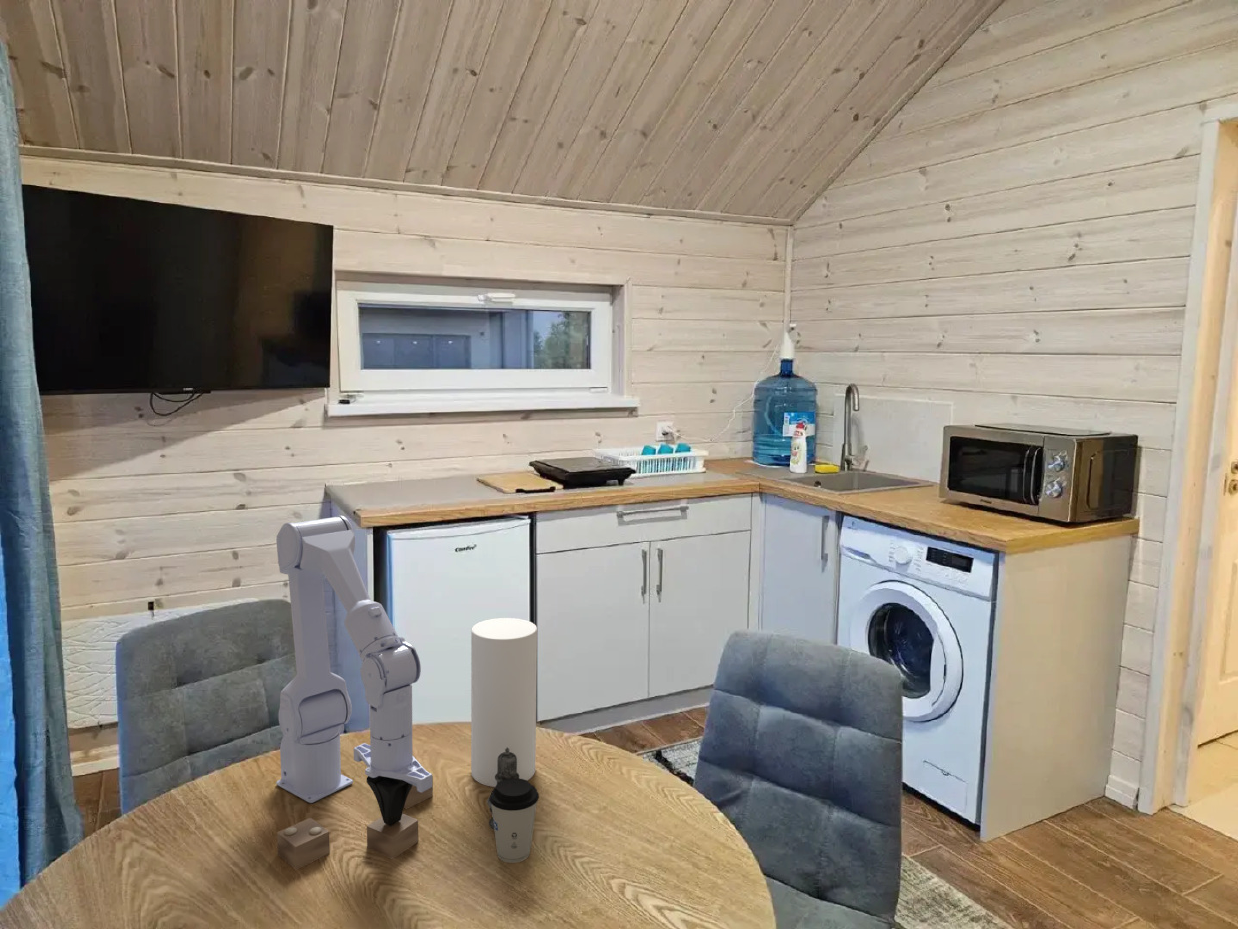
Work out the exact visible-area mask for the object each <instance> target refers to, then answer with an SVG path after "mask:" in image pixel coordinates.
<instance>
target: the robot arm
mask: <svg viewBox="0 0 1238 929" xmlns="http://www.w3.org/2000/svg"><path fill="white" fill-rule="evenodd" d="M276 549H277V550H276V552H277V560H278V561H277V563H278V567H279V573H280V574H284V575H287V578H288V587H289V588H288V589H289V597H290V598H289V600H290V610H291V622H292V631H293V632H292V633H293V643H294V644H293V646H294V655H295V667H296V675H295V676H294V677H293V678H292V679H291V681H290V682H289V683H287V685H286V686H285V687H284V688H282V690H281V691H280V696H279V700H280V701H279V709H278V723H279V727H280V730H281V732H282V734H283V736H282V738H281V741H280V745H279V746H280V747H279V748H280V749H279V753H280V755H279V756H280V779H278V780H277V781H276V785H277V786H278V787H280V788H282V789H284V790H285V791H287V792H289V793H290V794H293V795H295V796H296V797H299V798H300V799H302V800H304V801H305V802H307V803H309V804H313V803H315V802H317V801H319V800H321V799H323V798H325V797H327V796H329V795H332V794H334V793H335V792H337V791H340V790H342V789H344V788H346V787H348V786H350V785H351V784H353V782H354V781H353V779H352V778H349V777H348V776H346V775H344V774H342V765H341V764H342V762H341V758H342V757H341V733H342V732H344V731H345V724H348V722H350V719H351V715H352V712H353V711H352V710H353V707H352V701H351V698H350V695H349V692H348V688H347V687H348V686H347V681H346V680H345V679H344V678H343V677H342V676H340V675H338V674H336V673H333V672H331V662H330V661H331V659H330V651H329V638H328V627H327V625H328V624H327V616H326V615H327V614H326V604H325V603H326V601H325V591H324V580H323V578H324V577H325V578H326V580H327V581H328V584H330V586H331V588H332V590H333V591H334V593H335V595H336V596H337V597H338V599H339V601H340V602H341V604H342V606H343V607H344V608H345V610H346V612H347V613H346V616H345V618H344V621H343V623H344V626H345V629H346V631H347V633H348V635H349V637H350V639H351V640H352V642H353V645H354V647H355V649H356V651H357V653H358V655H359V657H360V660H361V661H362V662H361V664H362V665H361V667H360V668H359V670H360V677H361V682H362V684H363V687H364V691H365V695H364V696H365V699H366V703H367V704H369V733H370V735H369V736H370V738H369V739H370V741H369V742H370V744H368V743H366V742H363V743H361V744H360V745H356V746H355V747H353V760H354V761H355V762H357V763H360V762H363V763H364V765H365V766H366V768H365V771H364V774H365V775H366V776H367V777H366V784H367V785H368V786H369V788H370V790H371V791H372V793H373V794H374V796H375V799H376V801H377V805H378V808H379V811H380V814H381V817H382V818H383V821H384V823H385V824H387V825H389V826H391V825H393V824H395V823H396V822H398V821H400V820H401V817H402V814H404V813H403V812H404V805H405V802H406V799H407V796H408V794H409V792H410V790H411V788H412V786H413V785H414V786H416V787H417V791H419V792H421V793H422V792H424V791H426V790H428V789H429V788H431V787H432V776H433V774H432V772H429V771H427V770H426V768H424V766H423V765H422V764H421V763H420V762H419V760H417V759H416V757H415V756H414V755H413V685H412V684H415V683H417V682H418V681H419V680H420V676H421V669H422V666H421V662H420V657H419V655H418V653H417V649H416V648H415V647H414V646H413V645H412V643H409V642H407V641H406V640H405V637H402V636H401V637H400V636H398V634H397V632H396V629H395V628H394V626H393V624H392V621H391V620H390V618H389V616H388V614H387V612H386V610H385V608H384V606H383V605H382V603H380V602H377V601H373V600H371V597H370V595H369V593H368V590H367V587H366V584H365V583H364V580H363V578H362V575H361V573H360V570H359V568H358V565H357V562H356V560H355V557H354V552H355V549H356V535H355V533H354V528H353V525H352V524H351V522H350V521H349V520H348V518H347V517H346V516H344V515H341V514H340V515H335V516H334V517H333V516H332V517H326V518H318V519H313V520H304V521H297V522H285V523H283V524H282V526H281V528H279V531H278V532H277V535H276ZM323 576H324V577H323Z"/></svg>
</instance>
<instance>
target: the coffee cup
mask: <svg viewBox="0 0 1238 929" xmlns="http://www.w3.org/2000/svg"><path fill="white" fill-rule="evenodd" d="M488 798H489V801H490V802H491V806H492V814H493V815H492V814H491V815H492V817H493V822H494V830H493V831H494V839H495V845H496V855H497V857H498V859H500V860H501V861H502V862H504V863H509V864H515V863H516V864H517V863H520V862H524V860H526V859H528V858H529V856H530V854H531V847H532V839H533V833H534V826H535V818H536V812H537V805H538V801H539V798H540V793H539V792H538V789H537V787H535V785H532V784H531V783H530V781H529V780H524V779H519V778H513V779H505V780H501V781H500V782H498V783H497V785H496V787H494V788H493V789H492V790H491V792H490V793H489V796H488Z"/></svg>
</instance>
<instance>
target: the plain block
mask: <svg viewBox="0 0 1238 929" xmlns="http://www.w3.org/2000/svg"><path fill="white" fill-rule="evenodd" d="M418 842H419V820H418V819H416V818H414V817H412V816H410V815H407V814H404V813H402V817H401V820H400V821H398V822H396V823H395V824H393V825H391V826H389V825H387V824H385V823H384V821H383V818H382V816H380V817H378V818H377V819H376V820H374V821H372V822H371V823H369V824H367V825H366V847H367V849H369V850H370V851H371V850H372V851H373V852H376V853H379V854H381V855H382V856H385V857H387V858H389V859H391V860H394V859H395V858H396V857H398V856H400V855H401V854H402V853H404V852H405V851H407V850H408V849H410V848H411V847H413V846H414V845H416V844H417V843H418Z"/></svg>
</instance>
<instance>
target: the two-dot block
mask: <svg viewBox="0 0 1238 929" xmlns="http://www.w3.org/2000/svg"><path fill="white" fill-rule="evenodd" d="M276 834H277V835H276V842H277V845H276V846H277V856H278V857H280V859H282V860H284V861H285V862H286V863H287V864H289V865H290V866H291V867H292V868H293V869H295V870H299V869H300V868H302V867H304V866H307V865H309V864H310V863H313V862H315V861H317V860H319V859H321V858H323V857H325V856H327V855H329V854H330V852H331V850H330V849H331V848H330V830H329V829H327V828H325V827H323V825H321V824H320V823H318V822H317V821H315V820H314V819H313V818H312V817H308V818H307V819H305V820H302V821H300V822H298V823H295V824H293V825H291V826H289V827H286V828H283V829H281V830H280V831H277V832H276Z"/></svg>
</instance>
